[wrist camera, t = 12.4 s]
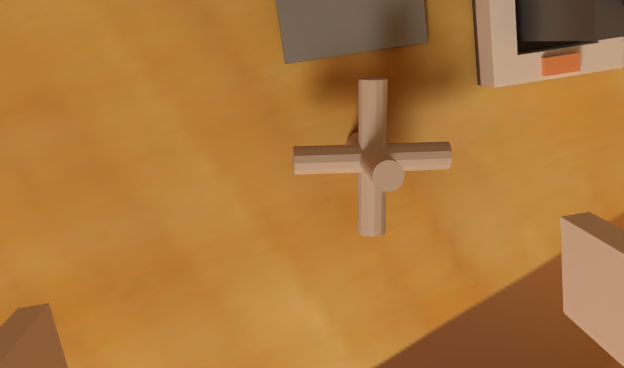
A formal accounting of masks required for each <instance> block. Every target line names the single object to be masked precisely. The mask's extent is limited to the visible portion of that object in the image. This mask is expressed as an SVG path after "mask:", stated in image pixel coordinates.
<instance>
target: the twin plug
mask: <svg viewBox="0 0 624 368" xmlns="http://www.w3.org/2000/svg"><path fill="white" fill-rule="evenodd" d="M515 13H516V33H517V41H598V40H604V39H611V38H617V37H624V0H515Z"/></svg>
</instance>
